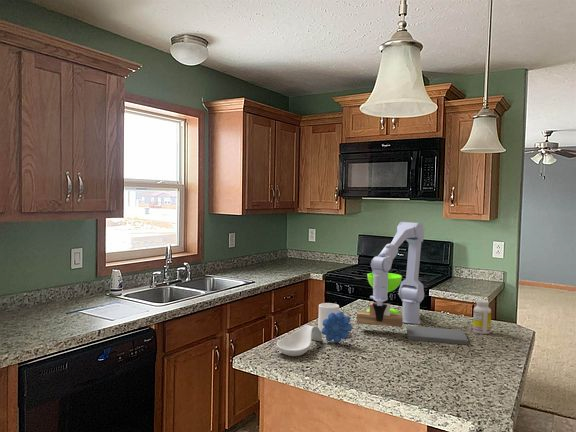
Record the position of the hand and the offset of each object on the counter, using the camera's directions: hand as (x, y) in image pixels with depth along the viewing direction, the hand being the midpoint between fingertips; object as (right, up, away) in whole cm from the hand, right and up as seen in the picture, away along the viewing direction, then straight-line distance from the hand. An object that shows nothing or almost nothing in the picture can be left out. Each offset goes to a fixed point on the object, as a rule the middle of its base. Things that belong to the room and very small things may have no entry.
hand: (379, 319), depth 185 cm
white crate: (+2, +2, -1) cm, 3 cm away
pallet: (0, -2, 0) cm, 2 cm away
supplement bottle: (+43, -6, +3) cm, 43 cm away
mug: (-20, -5, +3) cm, 21 cm away
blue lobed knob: (-19, -6, -14) cm, 24 cm away
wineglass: (+8, -4, +30) cm, 31 cm away
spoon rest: (-32, -6, -22) cm, 39 cm away
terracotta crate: (-2, +2, 0) cm, 3 cm away
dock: (+21, -6, -5) cm, 23 cm away
